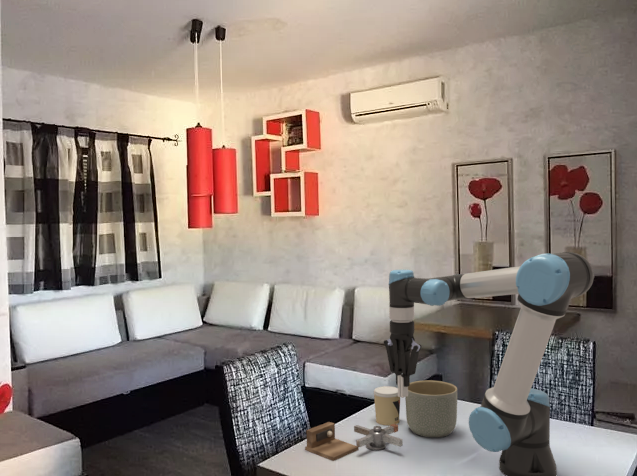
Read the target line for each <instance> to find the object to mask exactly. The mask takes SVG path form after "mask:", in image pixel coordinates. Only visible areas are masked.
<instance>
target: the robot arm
mask: <svg viewBox="0 0 637 476" xmlns="http://www.w3.org/2000/svg"><path fill="white" fill-rule="evenodd" d="M414 274H415V272H414V270H411V269H393V270H391V271H390V272H389V276H388V277H389V278H388V293H389V295H388V297H389V298H388V299H389V300H388V301H389V304H388V305H389V306H388V308H389V314H388V315H389V316H388V317H389V318H388V319H389V320H390V321H389V332H390V334H389V335H390V336H389V338H387V339H385V340H384V341H383V344H384V347H385V350H386V355H387V360H388V365H389V366H388V367H389V370H390V372H391V373H394V374H395V385H397V388H398V397H400V399H401V398H405V397H406V396H408V386H409V385H410V383H411V380H410V376H414V375H415V374H416V370H417V365H418V360H419V354H420V351H421V349H422V346H423V345H422V344H418V343H417V342H416V340H415V339H416V338H415V336H414V334H415V321H414V319H415V304H421V305H428V306H431V307H433V306H439V307H440V306H443V305H445V304H446V302H449V301H455V300H467V299H477V298H478V299H479V298H487V297H489V298H490V297H498V296H510V295H511V296H512V295H517V298H516V301H517V302H518V304H519V306H520V310H519V312H518V316H517V319H516V321H515V324H514V326H513V327H514V328H513V330H512V331H511V332H512V333H511V336H510V339H509V342H508V345H507V348H506V351H505V352H504V357H503V359H502V362H501V365H500V369H499V371H498V374H497V377H496V380H495V382H494V385H493V387H490V388H487V389H486V391H485V393H484V396H483V399H482V402H481V405H480V406H478V407H476V408H474V409H473V410H472V411H471V412H470V413H469V416H468V417H469V418H468V428H469V432H470V433H471V434H472V437H473V440H474V441H475V443H477V444H478V445H479V446H480V447H481V448H483V449H484V450H486V451H489V452H492V453H497V452H501V454H500V457H499V460H498V461H499V463H498V465H499V466H498V468H499V471H500V472H501V473H502V474H503V475H505V476H557V467H558V466H557V464H556V460H555V458H554V455H553V451H552V448H551V445H550V444H551V443H550V442H551V441H550V434H551V433H550V429H551V426H550V424H551V422H550V420H551V419H550V416H551V415H550V413H551V409H550V408H551V404H550V396H549V395H548V393H546V392H545V391H543V390H541V389H536V388H534V387H533V388H532V386H533V385H534V381H535V378H536V376H537V374H538V370H539V368H540V365H541V362H542V359H543V357H544V354H545V351H546V348H547V346H548V343H549V340H550V337H551V335H552V332H553V329H554V327H555V324H556V321H557V320H558V319H561V318H563V317H565V315H566V314H567V312H568V308H569V306H570V303H571V299H575V298H578V297H580V296H584V294H585V293H587V292H588V291H589V290H590V288H591V287H592V285H593V283H594V278H595V276H594V275H595V273H594V269H593V266H592V265H591V262H590V261H589V260H588V259H587V258H586V257H584V256H583V255H581V254H579V253H576V252H571V251H564V252H557V253H541V254H537V255H536V256H532V257H530V258H528V259H526V260H525V261H523V263H522V264H521V265H520V266H512V267H505V268H498V269H491V270H489V269H488V270H483V271H476V272H467V273H462V274H461V273H460V274H459V273H458V274H452V275H446V276H438V277H430V278H423V277H422V278H421V277H415V275H414Z"/></svg>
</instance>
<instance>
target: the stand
mask: <svg viewBox="0 0 637 476" xmlns="http://www.w3.org/2000/svg"><path fill="white" fill-rule="evenodd" d="M335 429H336V423H335V422H332V421H331V422H330V421H327V422H325V423H323V424H319V425H317V426H313V427H311V428H309V429H306V432H305V433H306V446H305V447H304V450H305V452H308V453H309V452H310V453H312V454H315V455H318V456H319V457H322V458H325V459H327V460H329V461H333V462H334V461H335V462H336V461H337V460H339V459H342V458H343V457H346V456H348V455H351V454H353V453H356V452H357V451H359V448H360V447H358V446H356V445H355V444H353V443H349V442H347V441H344V440H341V439H338V438H336V430H335Z"/></svg>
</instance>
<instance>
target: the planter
mask: <svg viewBox="0 0 637 476" xmlns="http://www.w3.org/2000/svg"><path fill="white" fill-rule="evenodd" d="M404 398H405V416H406V423H407V425H408V428H409V429H410V431H412V433H414V434H416V435H417V436H421V437H423V438H442V437H446V436H447V437H448V436H449V435H450V434H452V433H453V432H454V430H455V428H456V425H457V421H458V420H457V419H458V387H457V386H456V385H454V384H453V383H450V382H445V381H441V380H432V379H431V380H417V381H412V382H411V381H410V385H409V386H408V396H406V397H404Z"/></svg>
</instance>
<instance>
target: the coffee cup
mask: <svg viewBox="0 0 637 476" xmlns="http://www.w3.org/2000/svg"><path fill="white" fill-rule="evenodd" d="M373 396H374V411H375V420H376V421H375V422H376V423H377V424H379V425H381V426H390V425H392V424H397V425H398V424H399V422H400V410H401V397H398V387H395V386H389V385H385V386H378V387H376V388H374V390H373Z"/></svg>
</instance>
